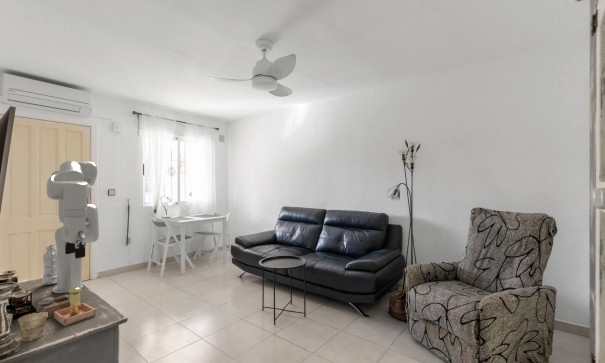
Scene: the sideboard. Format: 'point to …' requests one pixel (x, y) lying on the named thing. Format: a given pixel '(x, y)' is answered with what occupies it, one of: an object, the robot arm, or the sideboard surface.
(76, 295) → the pin
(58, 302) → the block
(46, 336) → the sideboard surface
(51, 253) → the plastic bottle
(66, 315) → the tray
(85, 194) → the robot arm
